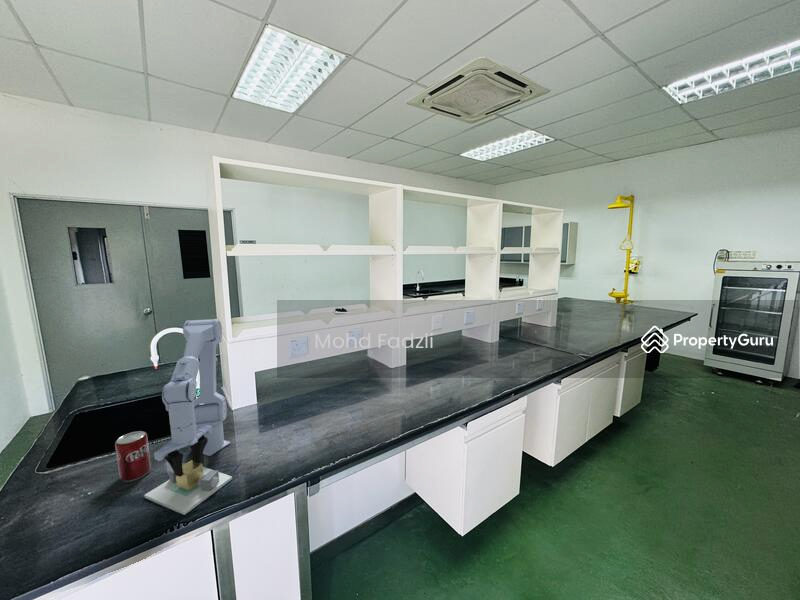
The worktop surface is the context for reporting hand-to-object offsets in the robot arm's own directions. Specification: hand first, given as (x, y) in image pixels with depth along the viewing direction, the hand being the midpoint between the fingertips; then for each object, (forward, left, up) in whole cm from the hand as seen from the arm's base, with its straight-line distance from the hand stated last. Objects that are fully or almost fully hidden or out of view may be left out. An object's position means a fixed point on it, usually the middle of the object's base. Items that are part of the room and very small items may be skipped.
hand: (188, 469), depth 88 cm
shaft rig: (0, 0, -6) cm, 6 cm away
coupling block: (0, 0, -4) cm, 4 cm away
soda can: (-21, -2, -6) cm, 22 cm away
